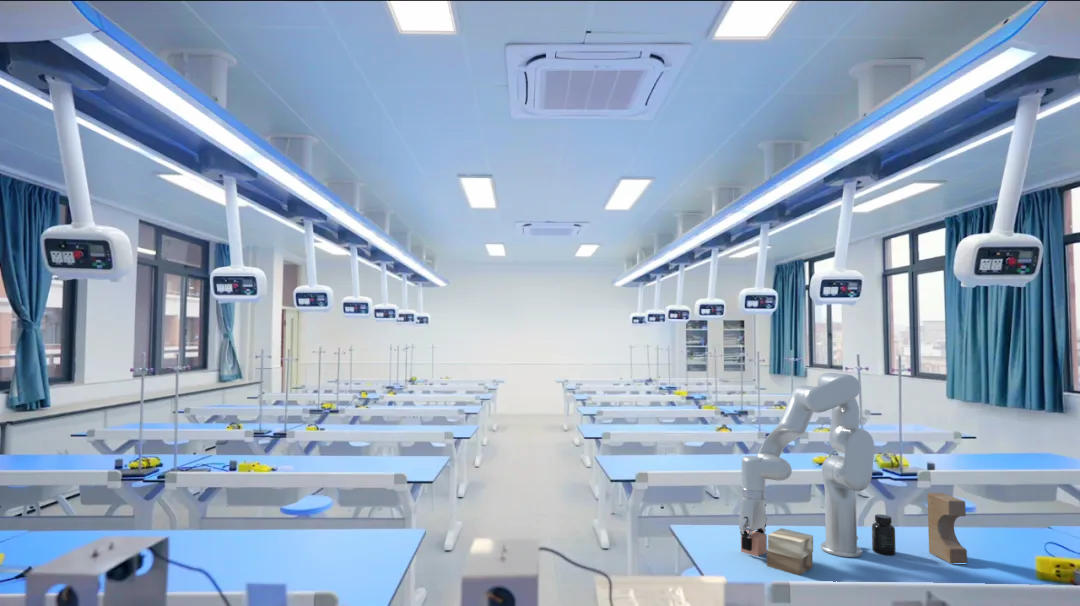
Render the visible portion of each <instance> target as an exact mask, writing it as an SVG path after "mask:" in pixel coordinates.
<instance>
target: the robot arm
mask: <svg viewBox="0 0 1080 606" xmlns="http://www.w3.org/2000/svg"><path fill="white" fill-rule="evenodd" d="M860 392H861V383H860V381H859V379H857V377H855V376H854V375H852V374H848V373H839V372H825V373H822V374H821V375H819V377H818V379H817V386H812V385H811V386H810V385H799V386H796V387H795V388H794V389H793V390H792V392H791V395H790V397H789V399H788V401H787V404H786V406H785V408H784V410H783V413H782V414H781V415H782V416H781V418H780V420H779V422H778V423H777V425H776V426H775V427H774V428H773V429H772V430H771V431H770V433H769V434H768V435H767V436H766V438H765V439H764V440H763V442H762V444H761V447H760V448H759V450H758V453H757V455H745V456H743V457H742V459H741V501H740V505H739V506H740V508H739V526H738V528H739V530H740V538H741V537H742V549H745V550H748V551H751V550H752V538H750V537H751V534H752V531H755V532H759V533H763V534H766V527H767V520H768V517H767V514H766V512H767V511H766V480H770V481H777V482H778V481H779V482H781V481H786V480H788V479H789V478H790V477H791V475H792V471H793V469H792V467H791V464H790V463H789V462H788V460H786V459H784V458H782V457H781V454H782V452H783V451H784V449H785V448H786V447H787V445H789V444H790V443H792V442H793V441H795V440H797V439H799V438H801V437H803V436H804V435H805V434H806V431H807V428H808V425H809V423H810V421H811V419H812V416H813V414H814V413H818V414H820V413H825V412H827V411H830V410H831V418H830V428H829V439H828V440H829V445H830V447H831V448H832V449H833V450H834V451H837V452H839V453H842V454H844V456H841V455H830V456H828V457H826V458H825V459H824V460H823V462H822V465H821V474H822V475H821V476H822V479H823V485H824V505H825V506H824V514H825V515H824V516H825V517H824V518H825V525H824V526H825V541H824V542H821V544H820V549H821V550H822V551H824V552H825V553H828V554H830V555H833V556H834V555H835V556H837V557H838V556H839V557H845V558H855V557H856V558H857V557H861V556H862V555H863V549H862V548H861V547H858V540H859V537H858V533H857V529H858V528H857V527H858V526H857V497H856V492H862V491H864V490H865V489H867V488H868V487H869V486H870V484H871V481H872V477H873V469H874V462H875V461H874V459H875V447H876V446H875V442H874V439H873V436H872V434H870V432H868V431H867V430H866V429H864V428H861V427H859V426H860V407H859V404H858V401H857V397H858V395H859V394H860ZM747 531H749V533H747Z"/></svg>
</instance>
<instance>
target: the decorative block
mask: <svg viewBox="0 0 1080 606" xmlns="http://www.w3.org/2000/svg"><path fill="white" fill-rule="evenodd" d="M966 514H967V513H966V501H965V500H962V499H961V498H957V497H954V496H952V495H949V494H946V493H944V492H943V493H942V492H928V493H927V523H928V525H927V527H928V528H927V529H928V552H929V553H930V554H931V553H932V555H933V554H934V555H933V556H935V555H936V556H935V557H936V558H938V559H940V558H941V560H942V559H943V561H944V560H945V562H946V561H947V563H948V562H949V563H948V564H950V563H967V564H968V550H967V549H966V548H965V547H964V546H963V545H962V544H961V543H960V542H959V540H958V537H957V536H956V533H955V522H956V520H957V519H958V518H959V517H966Z"/></svg>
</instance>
